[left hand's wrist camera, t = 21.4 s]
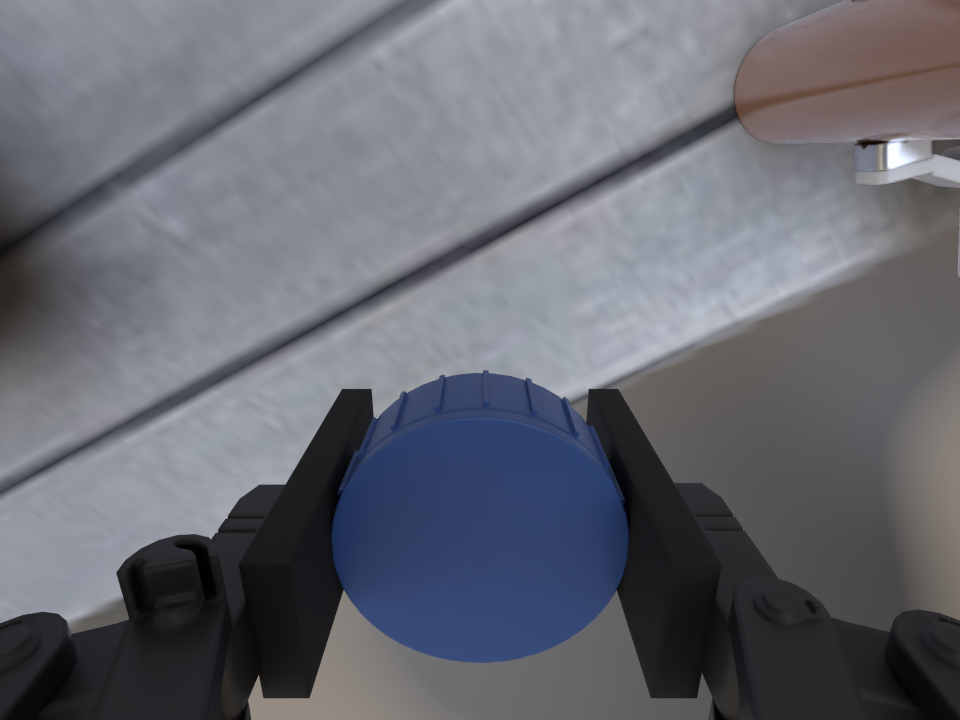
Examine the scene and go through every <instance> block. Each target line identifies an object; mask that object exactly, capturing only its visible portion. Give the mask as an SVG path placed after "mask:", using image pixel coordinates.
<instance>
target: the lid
mask: <svg viewBox="0 0 960 720" xmlns="http://www.w3.org/2000/svg"><path fill="white" fill-rule="evenodd" d="M337 494H339V495H341V496H340V499H339V501H338V503H337V506H336V509H335V513H334V517H333V521H332V531H331V541H332V550H333V559H334V565H335V569H336V572H337V575H338V577H339V580H340V582H341V585H342V587H343V589H344V590H345V592H346V594H347V595H348V597H349V599H350V600H351V602H352V603H353V604H354V605H355V607H356V608H357V609H358V610H359V612H360V613H361V614H362V615H363V616H364V617H365V618H366V619H367V620H368V621H369V622H370V623H371V624H372V625H374V626H375V627H376V628H377V629H379V630H380V631H381V632H383V633H384V634H385V635H387V636H388V637H390V638H392V639H394V640H395V641H397V642H399V643H400V644H402V645H405V646H407V647H409V648H411V649H413V650H416V651H418V652H421V653H424V654H427V655H430V656H434V657H438V658H443V659H447V660H453V661H461V662H476V663H488V662H501V661H508V660H514V659H519V658H523V657H527V656H530V655H534V654H537V653H540V652H542V651H545V650H547V649H550V648H552V647H555V646H556V645H558V644H560V643H562V642H564V641H566V640H568V639H569V638H571V637H572V636H574V635H575V634H577V633H578V632H580V631H581V630H582V629H584V628H585V627H586V626H587V625H588V624H589V623H591V622H592V621H593V620H594V619H595V618H596V617H597V616H598V615H599V614H600V612H601V611H602V610H603V609H604V608H605V607H606V606H607V604H608V603H609V601H610V600H611V598H612V597H613V595H614V594H615V592H616V590H617V588H618V586H619V584H620V582H621V579H622V577H623V574H624V570H625V567H626V564H627V556H628V547H629V526H628V521H627V515H626V511H625V509H624V506H623V504H625V499H624V496H623V494H622V491H621V489H620V487H619V484H618V482H617V479H616V477H615V475H614V472H613V470H612V467H611V465H610V463H609V460H608V459H607V457H606V455H605V452H604V450H603V447H602V445H601V443H600V440H599V438H598V435H597V433H596V431H595V428H594V427H593V425H591V426H590V427H589V426H588V425H587V423H586V422H585V421H584V419H583V418H582V417H581V416H580V415H579V414H578V413H577V412H576V411H575V410H574V409H573V408H572V407H571V406H570V404H569V401H568V399H567V398H565V397H564V398H563V399H561V398H560V397H559V396H557V395H555V394H554V393H552V392H550V391H548V390H547V389H545V388H543V387H541V386H538V385H536V384H534V383H532V381H531V379H529V378H526V380H522V379H519V378H515V377H512V376H506V375H499V374H489V373H488V371H486V370H483V373H471V374H461V375H454V376H450V377H445V375H441V376H440V377H439V379H438V380H435V381H432V382H429V383H427V384H424V385H422V386H420V387H418V388H416V389H414V390H412V391H410V392H408V393H406V392H405V391H404V392H402V393H401V395H400V398H399V399H398V400H397V401H395V402H394V403H393V404H392V405H391V406H390V407H388V408H387V409H386V410H385V411H384V412H383V413H382V414H381V415H380V417H379V418H378V419H376V418H375V417H374V418H373V419H372V421H371V423H370V426H369V428H368V430H367V433H366V435H365V438H364V440H363V442H362V445H361V447H360V450H359V451H358V450H355V452H354V455H353V457H352V459H351V462H350V464H349V466H348V469H347V471H346V473H345V476H344V478H343V480H342V483H341V485H340V487H339V490H338V493H337Z"/></svg>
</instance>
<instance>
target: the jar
mask: <svg viewBox="0 0 960 720" xmlns="http://www.w3.org/2000/svg"><path fill="white" fill-rule="evenodd" d="M734 100H735V107H736V111H737V114H738V117H739V119H740V121H741V123H742V125H743V126H744V127H745V129H746V130H747V131H748V132H749V133H750V134H751V135H753V136H754V137H755V138H757V139H759V140H761V141H764V142H767V143H771V144H809V143H851V142H892V141H934V140H960V0H844V1H841V2H839V3H836V4H834V5H832V6H829V7H827V8H824V9H822V10H819V11H817V12H815V13H812V14H810V15H807V16H805V17H802V18H800V19H798V20H795V21H793V22H790V23H788V24H786V25H783V26H781V27H778V28H776V29H774V30H772V31H771V32H769V33H768V34H766V35H765V36H763V37H762V38H761V39H760V40H759V41H758V42H757V43H756V44H755V45H754V46H753V47H752V48H751V50H750V51H749V52H748V54H747V55H746V57H745V59H744V60H743V62H742V64H741V67H740V69H739V72H738V75H737V78H736V83H735V91H734Z"/></svg>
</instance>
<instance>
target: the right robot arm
mask: <svg viewBox="0 0 960 720" xmlns="http://www.w3.org/2000/svg"><path fill="white" fill-rule="evenodd" d="M854 156H855V183H856V184H863V185H883V184H890V183H895V182H898V181H902V180H906V179H909V178H913V179H916V180H920V181H923V182H926V183H930V184H933V185H936V186H942V187H955V188H960V145H957V146H954V147H950V148H947V149H943V150H942V151H941V153H940V155H937V154H932V141H892V142H859V143H857V144H855V145H854ZM958 276H959V278H960V211H959V247H958Z"/></svg>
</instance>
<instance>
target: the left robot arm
mask: <svg viewBox="0 0 960 720" xmlns="http://www.w3.org/2000/svg"><path fill="white" fill-rule="evenodd" d="M373 418H374V417H373V403H372V390H371V389H342V390H341V392H340V394H339V395H338V397H337V399H336V401H335V402H334V404H333V406H332V407H331V409H330V411H329V412H328V414H327V416H326V417H325V419H324V421H323V422H322V424H321V426H320V428H319V429H318V431H317V433H316V434H315V436H314V438H313V439H312V441H311V443H310V444H309V446H308V448H307V450H306V451H305V453H304V455H303V456H302V458H301V460H300V461H299V463H298V465H297V466H296V468H295V470H294V471H293V473H292V475H291V477H290V478H289V480H288V482H287V483H286V485H258V486H257V487H256V488H254V489H253V490H251V491H250V492H249V493H247V494H246V495H245V496H243V497H242V498H240V499H239V501H238V502H237V504H236V505H235V506H234V508H233V509H232V511H231V512H230V513H229V515H228V519H225V521H224V522H223V523H222V525H221V526H220V528H219V529H218V533H215V535H214V536H213V538H212V539H210V538H209V537H205V536H200V535H196V534H190V535H177V536H173V537H169V538H165V539H162V540H158V541H156V542H154V543H152V544H150V545H148V546H146V547H143V548H141V549H140V550H138V551H137V552H136V553H134V554H133V555H132V556H130V557H129V558H128V559H126V560H125V562H124V563H123V564H122V566H121V567H120V568H119V570H118V571H117V572H116V573H117V576H118V580H119V584H120V587H121V591H122V594H123V598H124V601H125V605H126V608H127V612H128V615H129V620H127V621H123V622H120V623H117V624H113V625H109V626H104V627H101V628H96V629H92V630H88V631H83V632H79V633H75V634H71V632H70V630H69V627H68V624H67V621H66V620H65V619H64V618H62V617H61V616H60V615H59V614H55V613H47V612H39V613H33V614H27V615H22V616H19V617H16V618H14V619H11V620H8V621H5V622H3V623H0V720H251V716H250V708H249V703H248V698H249V696H250V694H251V691H252V689H253V687H254V684H255V682H256V680H257V677H258V675H259V677H260V682H261V687H262V693H263V698H310V694H311V691H312V688H313V685H314V682H315V678H316V675H317V672H318V669H319V666H320V663H321V659H322V656H323V653H324V650H325V647H326V643H327V640H328V637H329V634H330V631H331V628H332V625H333V621H334V618H335V615H336V612H337V609H338V606H339V602H340V599H341V596H342V593H343V590H344V589H343V587H342V585H341V582H340V580H339V577H338V575H337V572H336V569H335V565H334V559H333V550H332V541H331V531H332V521H333V517H334V513H335V509H336V506H337V503H338V501H339V499H340V496H341V495H339V494H337V493H338V490H339V487H340V485H341V483H342V480H343V478H344V476H345V473H346V471H347V469H348V466H349V464H350V462H351V459H352V457H353V455H354V452H355V450H358V451H359V450H360V447H361V445H362V442H363V440H364V438H365V435H366V433H367V430H368V428H369V426H370V423H371V421H372V419H373ZM586 423H587V425H588V426H589V427H590V426H591V425H593V427H594V428H595V431H596V433H597V435H598V438H599V440H600V443H601V445H602V447H603V450H604V452H605V455H606V457H607V459H608V460H609V463H610V465H611V467H612V470H613V472H614V475H615V477H616V479H617V482H618V484H619V487H620V489H621V491H622V494H623V496H624V499H625V504H623V506H624V509H625V511H626V515H627V521H628V526H629V547H628V556H627V564H626V567H625V570H624V574H623V577H622V579H621V582H620V584H619V586H618V588H617V592H618V595H619V598H620V601H621V604H622V608H623V611H624V614H625V617H626V620H627V624H628V627H629V630H630V633H631V636H632V639H633V643H634V646H635V649H636V652H637V655H638V658H639V662H640V665H641V668H642V671H643V674H644V677H645V681H646V684H647V687H648V690H649V693H650V696H651V698H697V695H698V689H699V684H700V679H701V673H702V674H703V676H704V678H705V681H706V683H707V685H708V688H709V690H710V692H711V695H712V697H713V698H712V703H711V708H710V713H709V719H708V720H960V621H959V620H957V619H954V618H951V617H949V616H946V615H943V614H940V613H936V612H930V611H923V610H912V611H904V612H902V613H901V614H900V615H899V616H897V617H896V618H895V619H894V622H893V625H892V628H891V631H890V632H887V631H882V630H878V629H874V628H870V627H866V626H861V625H857V624H853V623H848V622H845V621H841V620H838V619H835V618H832V617H830V615H829V614H828V612H827V610H826V609H825V607H824V606H823V604H822V603H821V602H819V601H818V600H817V599H816V598H815V597H814V596H812V595H811V594H810V593H809V592H807V591H806V590H804V589H802V588H800V587H798V586H796V585H794V584H792V583H790V582H787V581H784V580H780V579H778V577H777V576H776V574H775V573H774V572H773V570H772V569H771V567H770V566H769V564H768V563H767V562H766V560H765V559H764V557H763V556H762V555H761V553H760V552H759V550H758V549H757V548H756V546H755V545H754V543H753V542H752V541H751V539H750V538H749V536H748V535H747V533H746V532H745V531H743V529H742V526H741V525H740V523H739V522H738V521H737V519H736V518H735V517H733V514H732V512H731V511H730V509H729V508H728V506H727V505H726V504H725V502H724V501H723V499H722V498H721V497H720V496H719V495H717V494H716V493H714V492H713V491H712V490H710V489H709V488H707V487H706V486H705V485H703V484H702V483H673V481H672V479H671V478H670V476H669V474H668V473H667V471H666V469H665V467H664V466H663V464H662V462H661V461H660V459H659V457H658V456H657V454H656V452H655V451H654V449H653V447H652V446H651V444H650V442H649V440H648V439H647V437H646V435H645V434H644V432H643V430H642V429H641V427H640V425H639V424H638V422H637V420H636V419H635V417H634V415H633V413H632V412H631V410H630V408H629V407H628V405H627V403H626V402H625V400H624V398H623V397H622V395H621V393H620V391H619V390H618V389H589V395H588V408H587V422H586Z"/></svg>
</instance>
